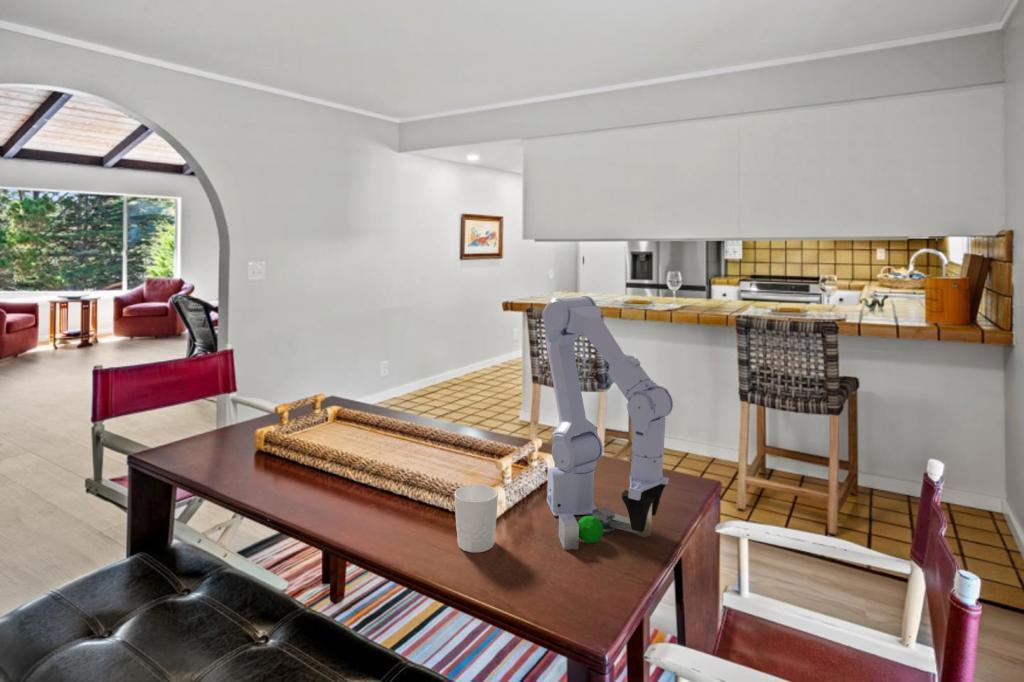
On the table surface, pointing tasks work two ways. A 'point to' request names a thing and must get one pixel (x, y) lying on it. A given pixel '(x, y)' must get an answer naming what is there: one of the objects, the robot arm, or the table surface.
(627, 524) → the lever
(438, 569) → the table surface
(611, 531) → the pivot base
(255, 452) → the table surface
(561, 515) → the light grey block
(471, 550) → the white cup
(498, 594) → the table surface
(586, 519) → the polyhedron
